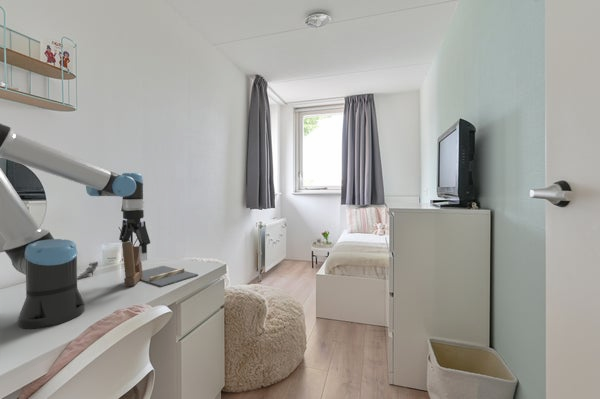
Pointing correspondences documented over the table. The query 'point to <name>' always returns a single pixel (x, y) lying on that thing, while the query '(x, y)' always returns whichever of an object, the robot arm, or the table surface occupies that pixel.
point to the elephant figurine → (89, 269)
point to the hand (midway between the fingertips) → (134, 258)
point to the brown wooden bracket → (131, 264)
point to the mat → (165, 280)
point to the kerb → (166, 274)
